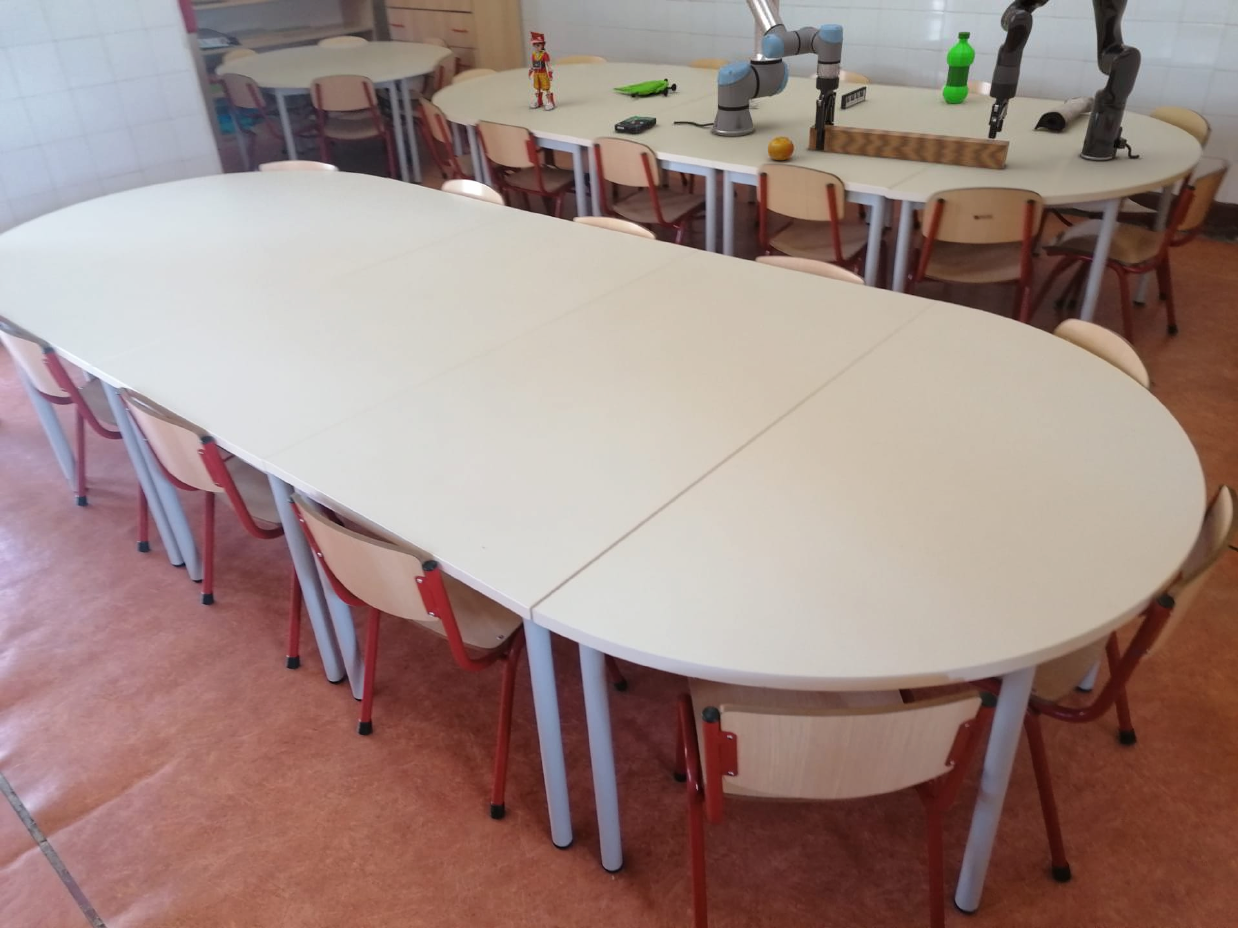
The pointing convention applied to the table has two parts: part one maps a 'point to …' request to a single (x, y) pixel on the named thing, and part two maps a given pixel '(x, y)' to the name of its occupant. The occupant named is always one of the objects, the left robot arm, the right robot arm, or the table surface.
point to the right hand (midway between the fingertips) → (994, 135)
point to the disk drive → (635, 124)
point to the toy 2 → (648, 88)
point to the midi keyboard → (853, 97)
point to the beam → (913, 146)
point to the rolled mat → (1065, 114)
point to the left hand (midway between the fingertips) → (822, 147)
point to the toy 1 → (541, 71)
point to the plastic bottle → (958, 69)
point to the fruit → (780, 148)
